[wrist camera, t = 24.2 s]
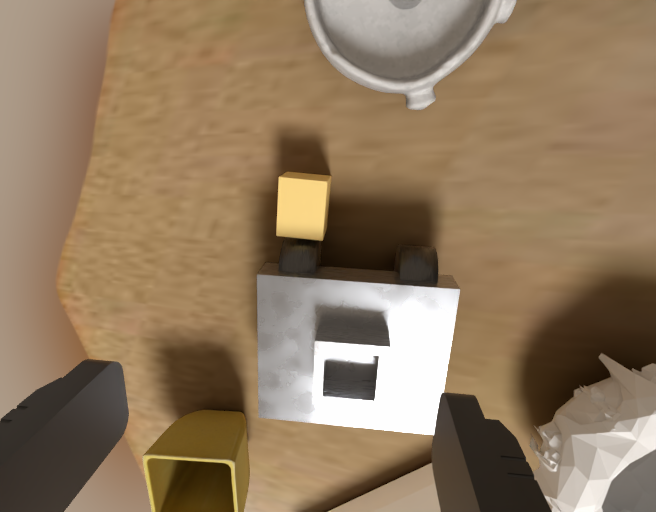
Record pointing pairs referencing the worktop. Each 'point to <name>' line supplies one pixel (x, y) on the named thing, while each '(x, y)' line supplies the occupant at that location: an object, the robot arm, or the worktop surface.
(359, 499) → the white faceted prism
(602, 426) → the bowl
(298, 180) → the pale yellow block
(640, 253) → the worktop surface
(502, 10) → the dish
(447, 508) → the robot arm
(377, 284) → the dolly
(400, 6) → the pin
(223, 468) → the flower pot
